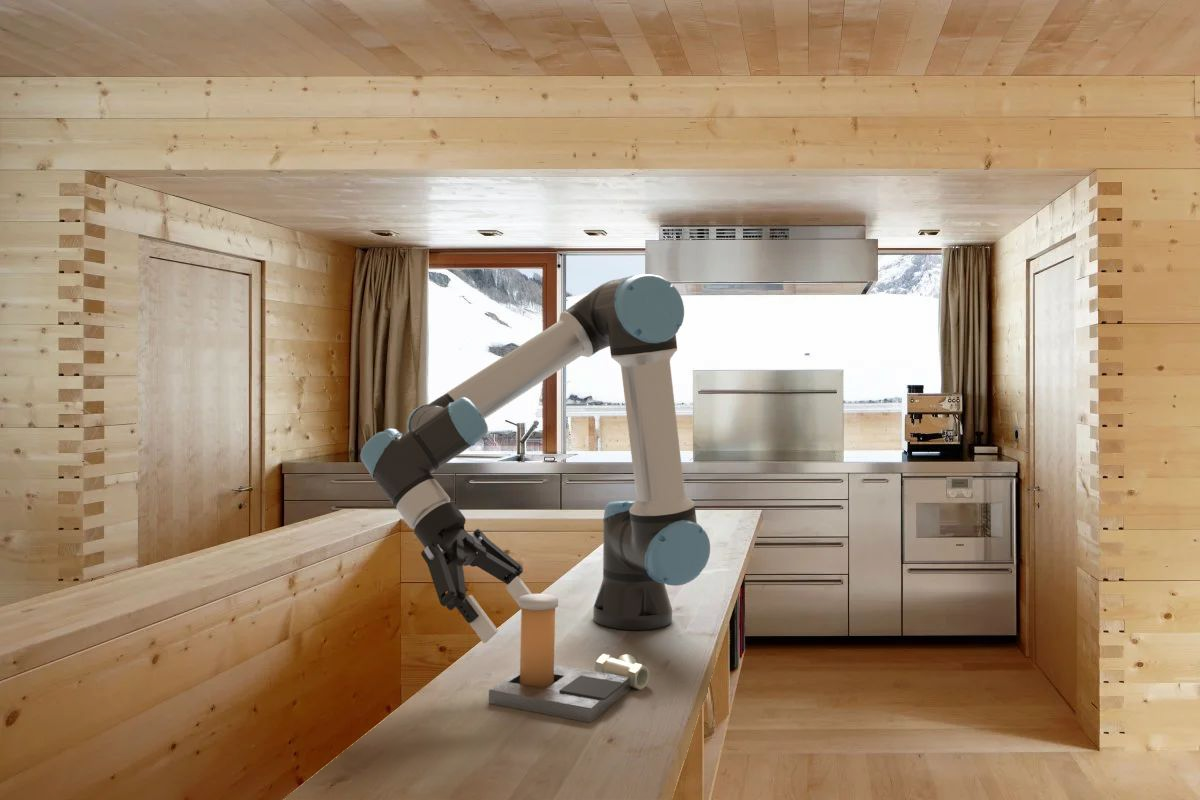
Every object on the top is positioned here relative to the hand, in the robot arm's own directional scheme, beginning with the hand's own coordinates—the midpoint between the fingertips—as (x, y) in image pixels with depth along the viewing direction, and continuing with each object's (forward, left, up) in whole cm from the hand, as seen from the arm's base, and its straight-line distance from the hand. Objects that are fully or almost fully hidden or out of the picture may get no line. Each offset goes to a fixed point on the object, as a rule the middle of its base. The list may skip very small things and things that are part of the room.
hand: (515, 625), depth 135 cm
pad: (-1, +12, -8) cm, 15 cm away
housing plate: (-1, +7, -10) cm, 12 cm away
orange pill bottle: (-1, +3, -10) cm, 10 cm away
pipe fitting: (-12, +13, -10) cm, 21 cm away
